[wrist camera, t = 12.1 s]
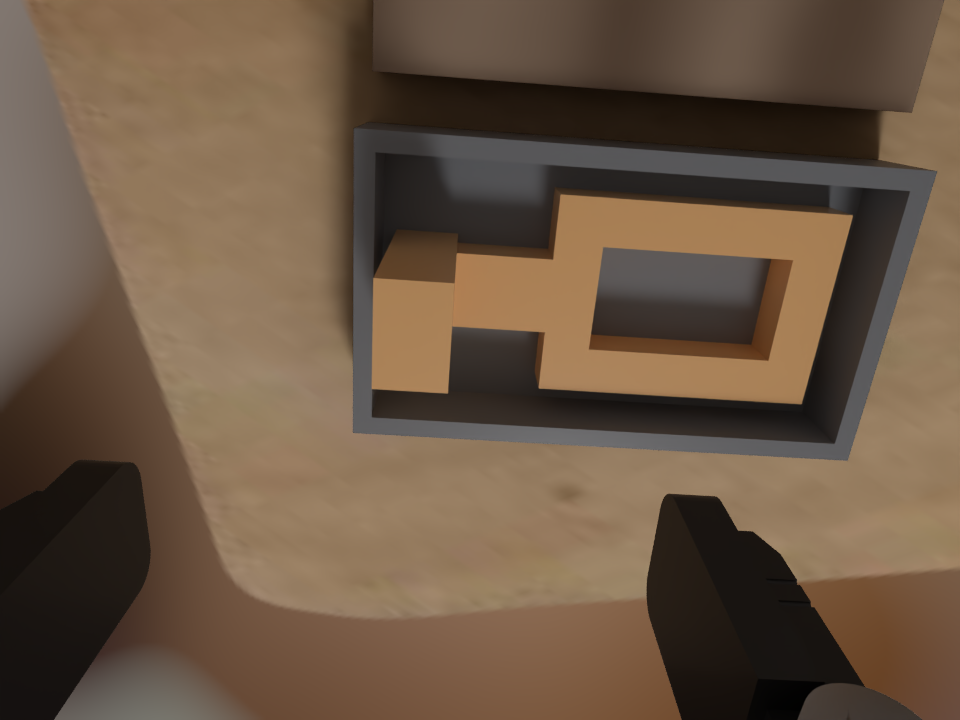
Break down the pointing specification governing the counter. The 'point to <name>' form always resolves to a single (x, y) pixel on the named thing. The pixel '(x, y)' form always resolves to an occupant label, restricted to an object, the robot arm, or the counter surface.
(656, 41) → the board
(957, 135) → the counter surface
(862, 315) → the tray
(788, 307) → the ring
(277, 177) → the counter surface
